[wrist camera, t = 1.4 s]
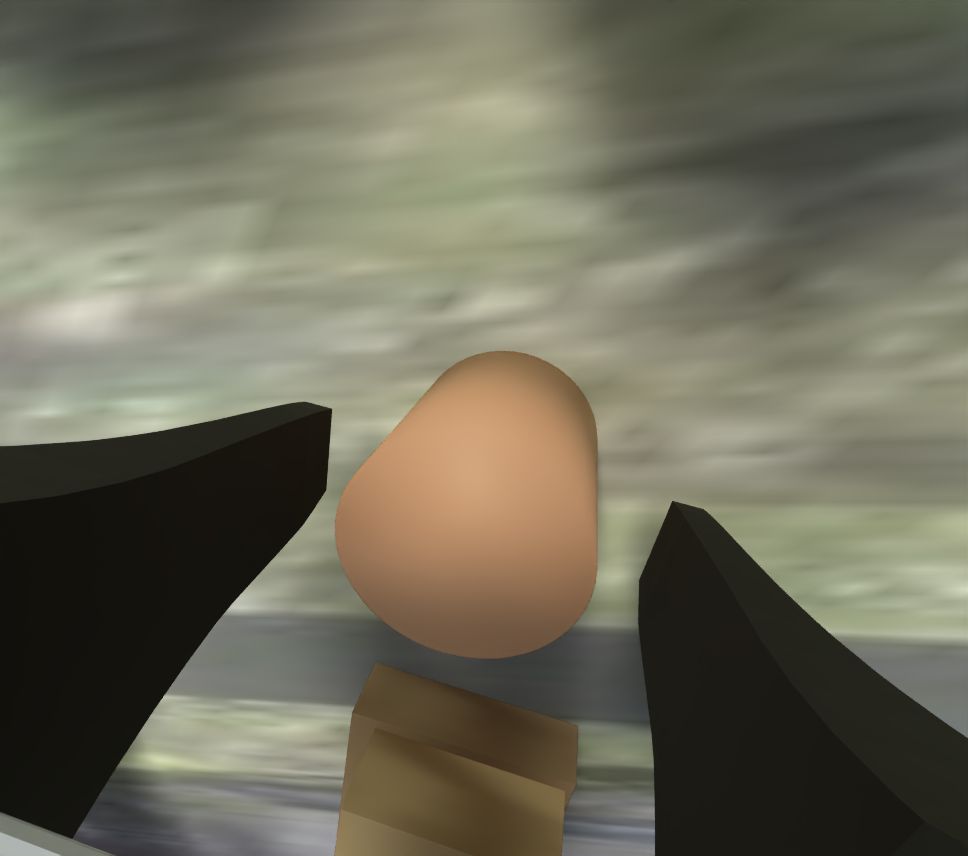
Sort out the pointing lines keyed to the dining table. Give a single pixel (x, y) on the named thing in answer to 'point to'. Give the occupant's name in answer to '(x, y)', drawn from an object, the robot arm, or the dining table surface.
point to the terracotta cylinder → (479, 511)
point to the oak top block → (444, 806)
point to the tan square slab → (462, 728)
